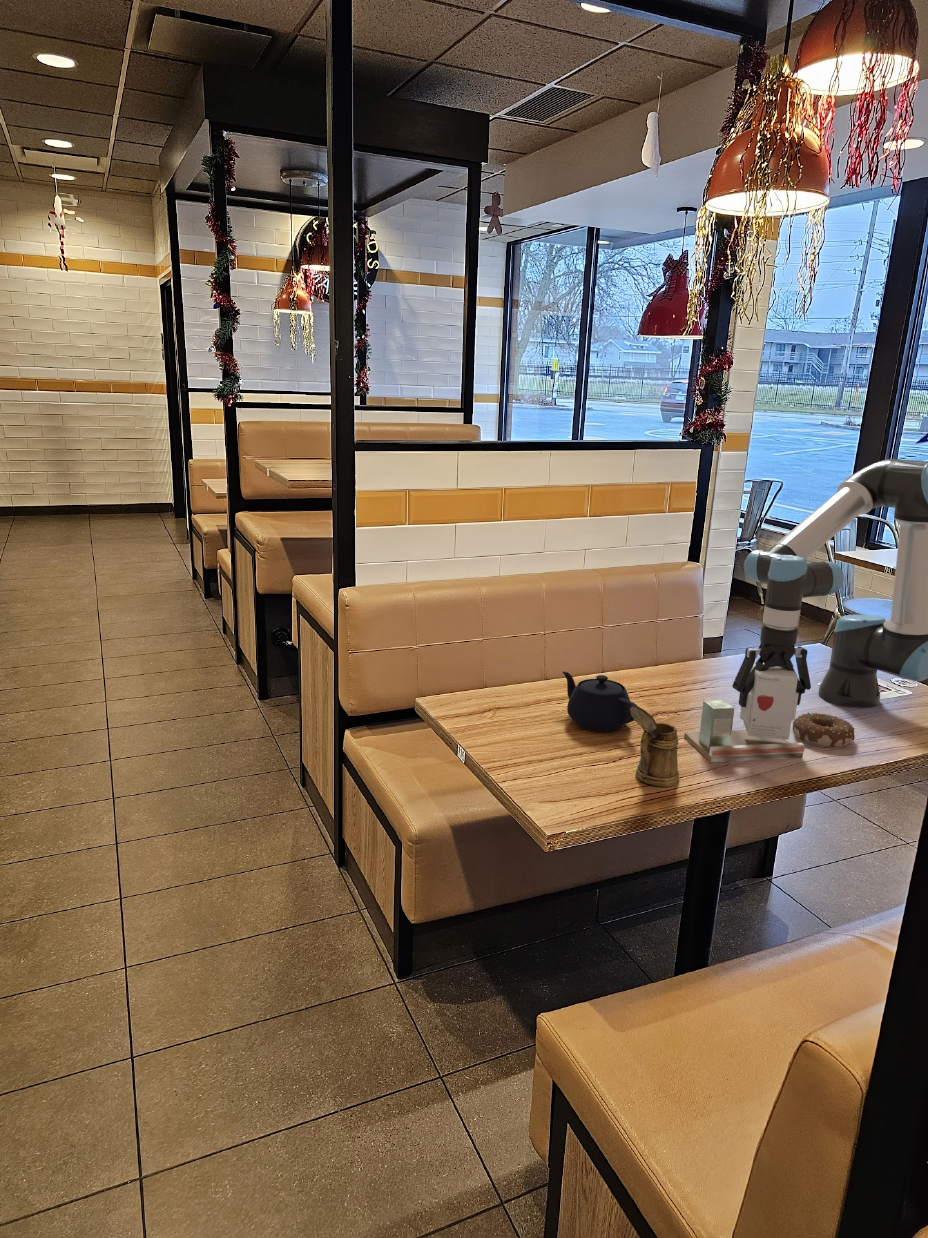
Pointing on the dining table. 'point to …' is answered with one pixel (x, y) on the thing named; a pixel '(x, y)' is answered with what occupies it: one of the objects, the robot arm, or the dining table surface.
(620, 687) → the teapot
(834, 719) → the donut
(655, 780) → the wooden mug
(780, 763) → the dining table surface
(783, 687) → the supplement box
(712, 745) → the tea tin
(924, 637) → the robot arm
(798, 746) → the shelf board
